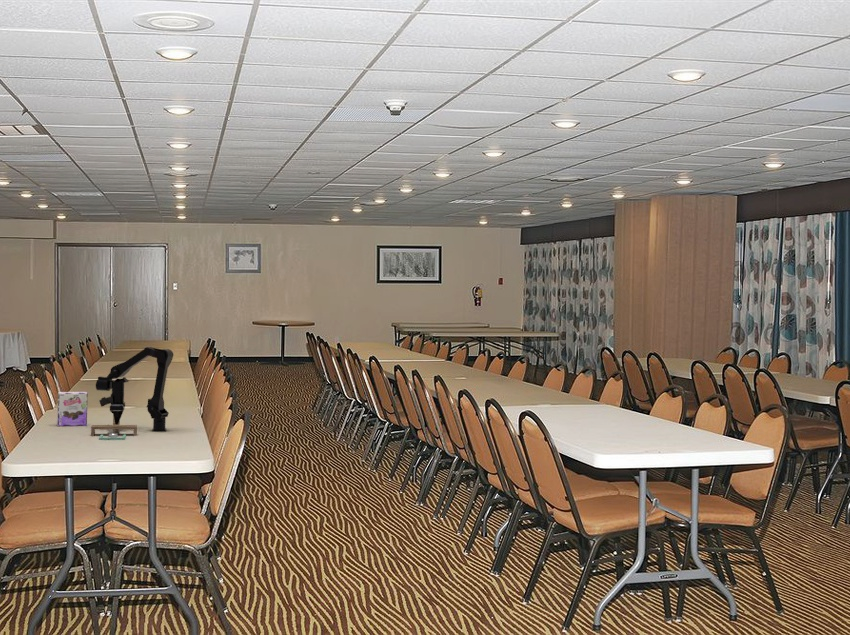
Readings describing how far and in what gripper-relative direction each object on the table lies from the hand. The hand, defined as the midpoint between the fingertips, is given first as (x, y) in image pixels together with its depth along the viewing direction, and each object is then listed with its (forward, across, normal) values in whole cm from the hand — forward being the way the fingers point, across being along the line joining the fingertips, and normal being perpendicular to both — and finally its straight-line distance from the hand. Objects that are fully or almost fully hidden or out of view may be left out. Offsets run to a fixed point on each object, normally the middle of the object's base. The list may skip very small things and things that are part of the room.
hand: (117, 423), depth 483 cm
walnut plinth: (+2, +22, 0) cm, 22 cm away
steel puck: (+3, +28, 0) cm, 29 cm away
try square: (+3, +9, 0) cm, 9 cm away
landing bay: (+2, +32, 0) cm, 32 cm away
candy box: (+3, -12, -22) cm, 25 cm away
